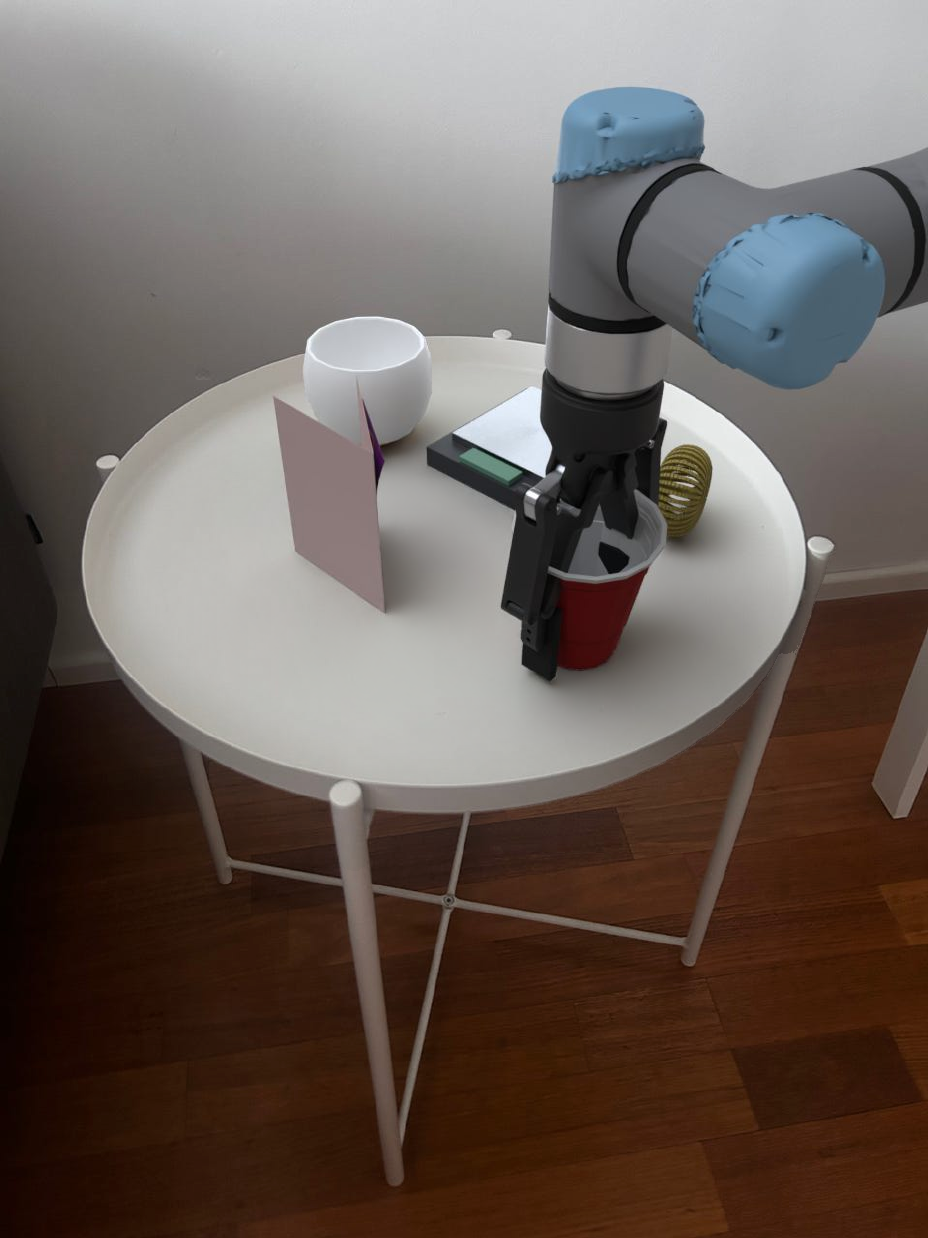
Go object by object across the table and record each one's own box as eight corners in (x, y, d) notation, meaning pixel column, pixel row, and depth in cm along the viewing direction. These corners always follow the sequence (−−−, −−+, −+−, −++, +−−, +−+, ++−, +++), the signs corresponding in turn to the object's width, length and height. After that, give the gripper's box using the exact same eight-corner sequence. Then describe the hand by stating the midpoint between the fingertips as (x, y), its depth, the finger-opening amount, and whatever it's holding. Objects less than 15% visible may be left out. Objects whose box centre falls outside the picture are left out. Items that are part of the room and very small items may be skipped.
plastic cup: (485, 673, 76) (488, 547, 68) (533, 587, 83) (540, 464, 75) (625, 714, 73) (646, 587, 65) (662, 621, 80) (684, 496, 72)
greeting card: (395, 611, 81) (385, 452, 71) (302, 623, 80) (279, 463, 70) (378, 527, 89) (367, 373, 79) (293, 536, 88) (271, 382, 78)
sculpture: (665, 498, 92) (677, 422, 87) (708, 509, 91) (724, 433, 86) (638, 547, 87) (650, 470, 82) (684, 560, 86) (699, 481, 80)
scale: (637, 454, 98) (641, 429, 96) (540, 523, 90) (542, 497, 88) (526, 404, 105) (527, 380, 103) (426, 464, 97) (425, 439, 95)
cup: (287, 425, 102) (275, 336, 95) (389, 388, 107) (385, 302, 101) (352, 481, 94) (344, 389, 88) (458, 439, 100) (458, 349, 93)
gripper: (649, 299, 70) (614, 557, 85) (443, 414, 58) (445, 689, 73) (745, 333, 66) (690, 596, 81) (545, 464, 54) (525, 742, 70)
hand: (574, 640), depth 77 cm, fingers closed on plastic cup, 8 cm apart
